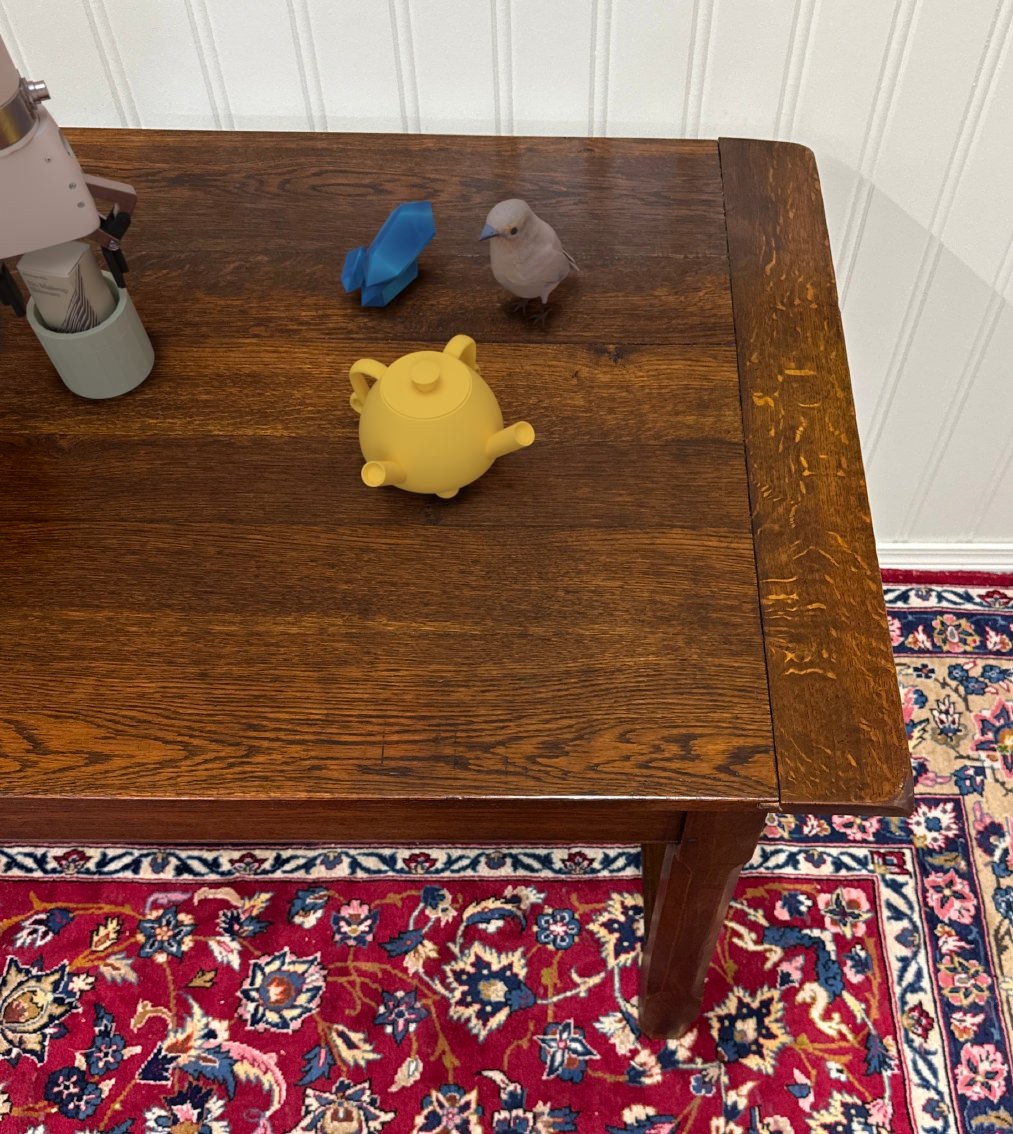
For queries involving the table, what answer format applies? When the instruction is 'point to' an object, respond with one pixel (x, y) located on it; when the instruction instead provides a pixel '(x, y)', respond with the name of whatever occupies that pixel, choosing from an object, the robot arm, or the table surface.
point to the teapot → (430, 420)
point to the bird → (525, 253)
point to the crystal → (390, 255)
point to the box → (67, 286)
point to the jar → (99, 349)
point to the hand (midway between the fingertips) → (70, 291)
